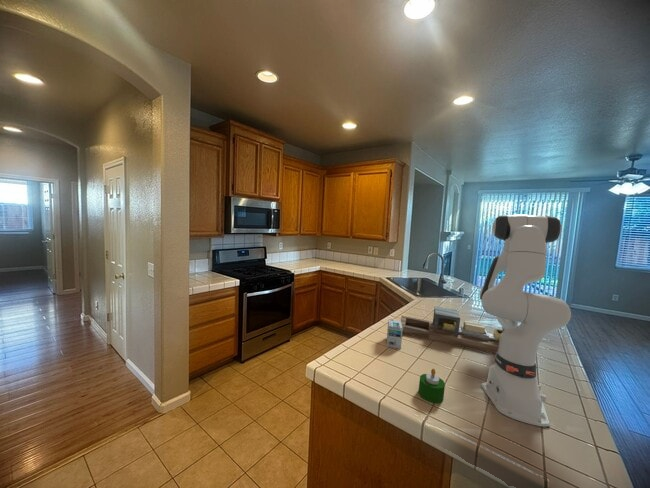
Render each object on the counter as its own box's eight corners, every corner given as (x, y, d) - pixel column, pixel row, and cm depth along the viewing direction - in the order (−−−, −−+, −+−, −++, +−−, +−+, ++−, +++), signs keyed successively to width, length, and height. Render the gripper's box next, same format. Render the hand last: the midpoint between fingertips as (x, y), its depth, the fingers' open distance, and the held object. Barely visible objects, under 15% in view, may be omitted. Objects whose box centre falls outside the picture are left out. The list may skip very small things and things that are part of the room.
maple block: (483, 339, 134) (485, 327, 133) (464, 335, 137) (465, 324, 136) (481, 334, 139) (482, 324, 139) (462, 330, 142) (464, 320, 142)
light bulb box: (401, 349, 124) (403, 328, 123) (386, 347, 125) (389, 325, 124) (399, 339, 135) (401, 320, 134) (386, 337, 136) (388, 318, 135)
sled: (512, 345, 128) (513, 337, 127) (442, 331, 139) (443, 323, 139) (506, 338, 136) (507, 330, 136) (441, 325, 148) (442, 318, 147)
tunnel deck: (512, 357, 124) (516, 329, 123) (398, 332, 144) (400, 308, 142) (502, 342, 141) (505, 317, 140) (401, 321, 160) (403, 300, 159)
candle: (430, 405, 86) (434, 377, 85) (413, 390, 93) (416, 364, 93) (448, 400, 89) (451, 373, 88) (430, 385, 97) (433, 360, 96)
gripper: (523, 318, 121) (519, 346, 122) (509, 306, 140) (506, 330, 141) (507, 315, 123) (503, 343, 124) (496, 304, 142) (493, 328, 143)
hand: (504, 336), depth 133 cm, fingers closed, pressing on sled
